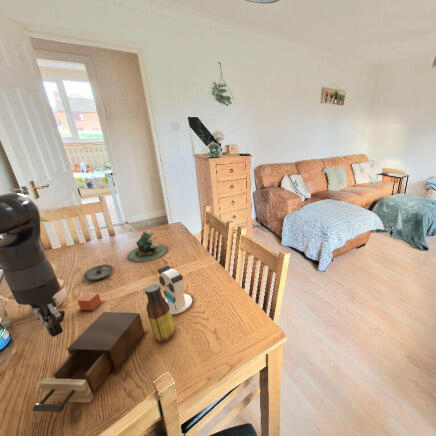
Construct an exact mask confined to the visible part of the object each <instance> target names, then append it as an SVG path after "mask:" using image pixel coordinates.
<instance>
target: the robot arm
mask: <svg viewBox="0 0 436 436" xmlns="http://www.w3.org/2000/svg"><path fill="white" fill-rule="evenodd" d="M41 227H42V226H41V215H40V210H39V208H38V206H37V205H36V203H35V202H34V201H33V200H32V199H31V198H30V197H28V196H27V195H24V194H22V193H16V192H9V193H4V194H0V235H1V236H2V235H4V236H3V237H2V238H1V240H0V267H1V270H2V273H3V277H4V280H5V282H6V284H7V287H8V288H9V291H10V293H11V294H12V296H13V298H14V301H15V302H16V303H17V304H19V305H20V306H21V305H23V306H29V308H30V310H32V312H33V314H34V315H35V317H36V318H37V319H38V320H39V321H41V324H42V325H44V326H45V329H46V330H47V332H48V334H49V335H50V336H51V337H53V338H55V337H57V336H59V335H60V334H62V333H63V331H64V330H63V327H62V325H61V323H63V322H64V320H65V315H66V312H65V310H63V309H60V307H59V306H58V301H57V299H56V298H54V299H53V296H54V295H55V294H56V293H57V292H58V291H59V289H60V285H59V282H58V280H57V279H58V278H57V275H56V273H55V270H54V267H53V265H52V263H51V262H50V260H49V259H48V256H47V254H46V251H45V249H44V247H43V244H42V242H41V236H42V229H41Z"/></svg>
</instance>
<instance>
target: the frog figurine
mask: <svg viewBox="0 0 436 436" xmlns="http://www.w3.org/2000/svg"><path fill="white" fill-rule="evenodd" d="M153 235H154V233H153V232H152V231H143V232H142V233H141V236H140V238H139V239H138V240H137V241H136V246H137V248H135V249H132V250H131V251H130V252H129V253H128V255H127V258H128V259H129V260H130V261H133V262H147V261H153V260H155V259H158V258H160V257H162V256H164V255H165V253H166V252H167V250H168V249H167V247H166V246H165V245H162V244H159V243H157V242H156V243H155V242H153V241H152V239H151V237H152V236H153Z"/></svg>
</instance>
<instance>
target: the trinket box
mask: <svg viewBox="0 0 436 436" xmlns="http://www.w3.org/2000/svg"><path fill="white" fill-rule="evenodd" d="M57 280H58V282H59V285H60V289H59V291H58V292H57V293H56V294H55V295H54V296H53V299H54V298H56V299H57V301H58V307H59V306H60V305H61V304H62V303H63V301H64V300H65V298H66V296H67V287H66V283H65V281H64V280H62V279H58V278H57Z"/></svg>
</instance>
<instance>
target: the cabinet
mask: <svg viewBox="0 0 436 436" xmlns="http://www.w3.org/2000/svg"><path fill="white" fill-rule="evenodd" d="M143 335H145V329H144V325H143V321H142V318H141V313H140V312H121V311H103V312H101V314H100V315H99V316H98V317H97V318H96V319H95V320H94V321H93V322H92V323H91V324H90V325H89V326H88V327H87V328H86V329H84V331H83V332H82V333H81V334H80V335H79V336H78V337H77V338H76V339H75V340H74V341H73V342H71V344H70V345H69V346H68V347H67V348H66V349H67V350H66V351H67V352H68V355H70V354H71V353H72V352H73V351H92V352H108V355H109V358H110V361H111V363H112V366H113V367H112V368H111V370H110V371H109V372H119V369H120V368H121V367H122V366H123V364H124V362H125V361H126V359H127V358H128V357H129V355H130V354H131V353H132V351H133V349H134V348H135V347H136V345H137V344H138V342H139V341H140V340H141V339H142V337H143Z"/></svg>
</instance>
